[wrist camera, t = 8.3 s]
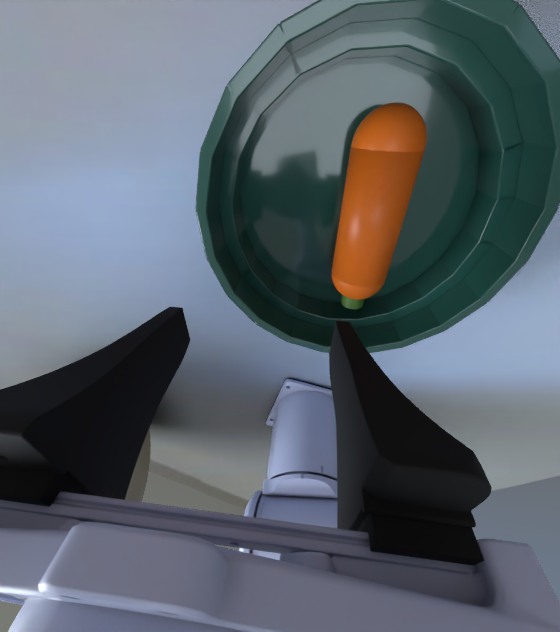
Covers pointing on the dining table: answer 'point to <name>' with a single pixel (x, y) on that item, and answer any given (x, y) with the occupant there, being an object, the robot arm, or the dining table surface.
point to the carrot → (376, 198)
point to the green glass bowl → (333, 156)
